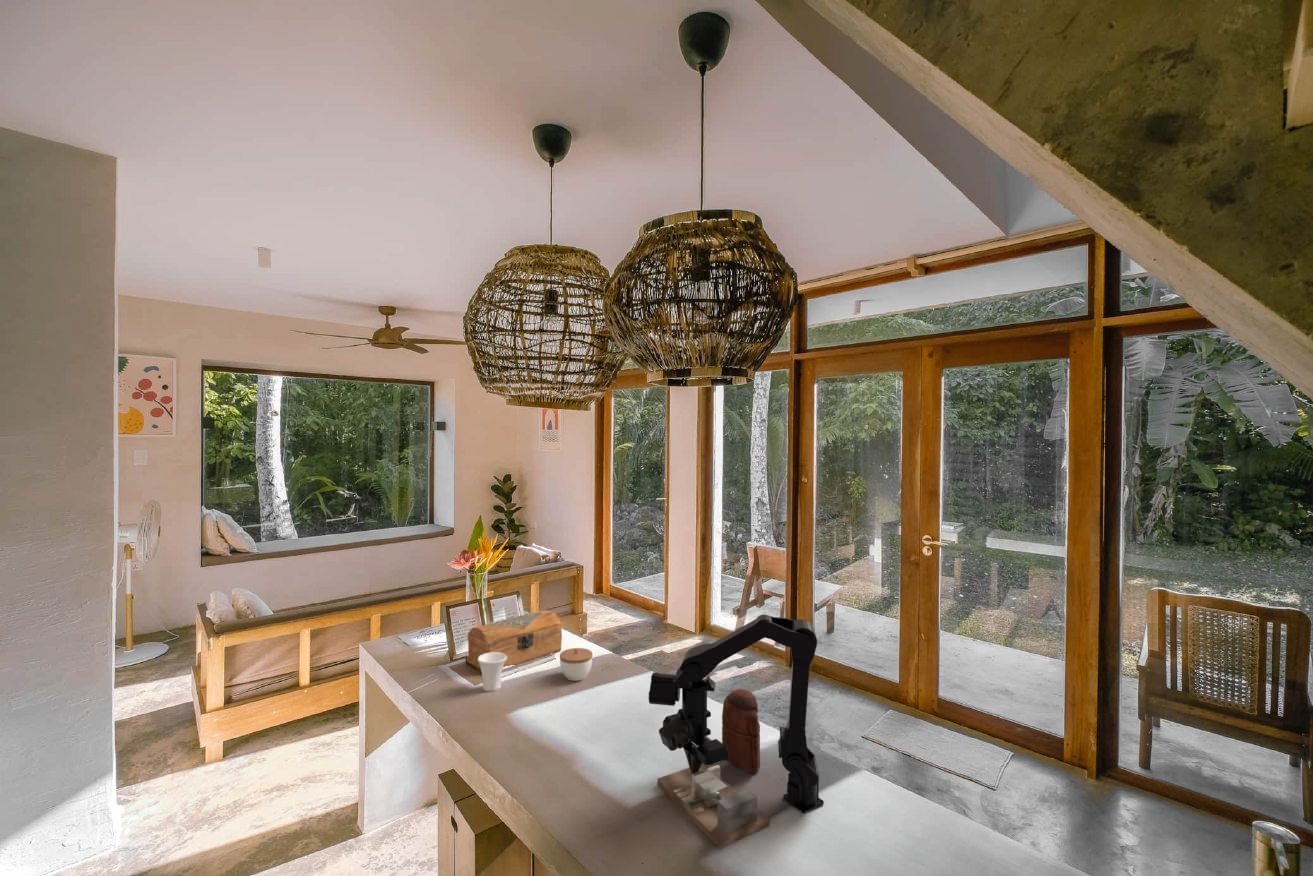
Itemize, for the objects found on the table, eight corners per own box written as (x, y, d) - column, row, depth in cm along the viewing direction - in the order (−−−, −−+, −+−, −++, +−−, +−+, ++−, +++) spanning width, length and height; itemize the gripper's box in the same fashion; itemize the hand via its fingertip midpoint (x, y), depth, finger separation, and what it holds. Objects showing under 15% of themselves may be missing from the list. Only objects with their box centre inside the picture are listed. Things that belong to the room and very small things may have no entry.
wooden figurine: (769, 767, 145) (769, 694, 145) (753, 777, 141) (753, 702, 140) (732, 748, 154) (732, 679, 154) (715, 757, 150) (716, 686, 149)
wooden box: (489, 676, 198) (489, 635, 197) (467, 662, 210) (466, 623, 209) (564, 652, 218) (564, 615, 218) (540, 641, 230) (540, 605, 230)
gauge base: (703, 768, 144) (703, 742, 144) (769, 826, 124) (769, 795, 124) (657, 785, 138) (657, 757, 138) (719, 848, 117) (719, 816, 117)
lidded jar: (553, 676, 197) (553, 648, 197) (580, 667, 204) (580, 640, 204) (571, 687, 189) (571, 658, 189) (598, 677, 197) (598, 649, 196)
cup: (500, 694, 184) (500, 662, 183) (472, 692, 185) (472, 660, 185) (512, 682, 192) (512, 652, 192) (485, 680, 194) (485, 650, 194)
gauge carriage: (717, 786, 134) (717, 764, 134) (743, 809, 126) (743, 786, 126) (682, 799, 130) (682, 777, 129) (707, 824, 122) (707, 800, 122)
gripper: (643, 698, 140) (643, 764, 140) (687, 734, 124) (687, 808, 124) (683, 688, 145) (683, 751, 146) (730, 720, 129) (729, 791, 130)
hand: (694, 774), depth 136 cm, fingers closed
